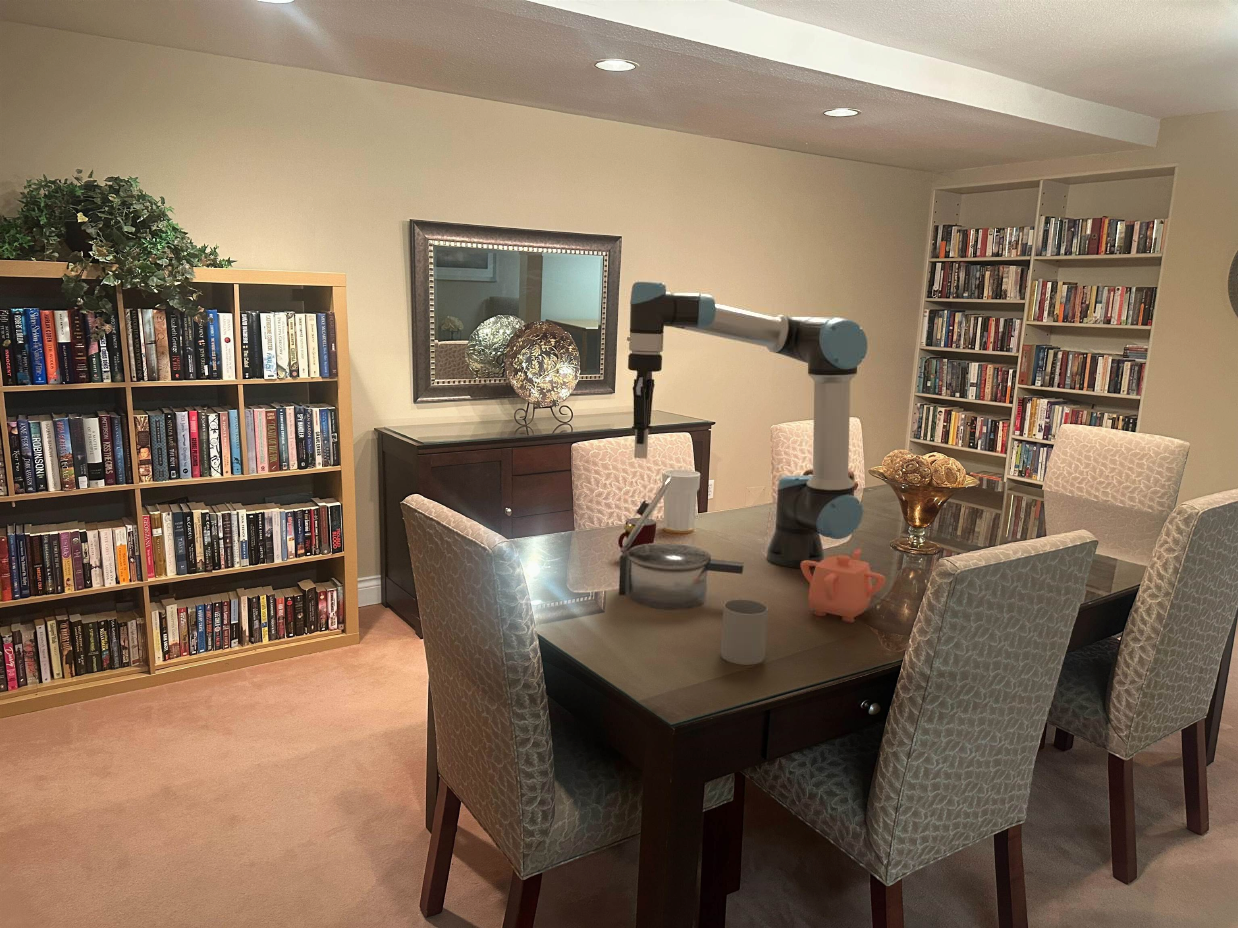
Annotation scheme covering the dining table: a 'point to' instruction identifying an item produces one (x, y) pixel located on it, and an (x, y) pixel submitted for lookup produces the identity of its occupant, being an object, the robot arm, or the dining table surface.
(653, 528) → the mug
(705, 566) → the pot
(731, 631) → the cup
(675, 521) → the cup
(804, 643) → the dining table surface
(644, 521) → the lid
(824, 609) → the teapot
